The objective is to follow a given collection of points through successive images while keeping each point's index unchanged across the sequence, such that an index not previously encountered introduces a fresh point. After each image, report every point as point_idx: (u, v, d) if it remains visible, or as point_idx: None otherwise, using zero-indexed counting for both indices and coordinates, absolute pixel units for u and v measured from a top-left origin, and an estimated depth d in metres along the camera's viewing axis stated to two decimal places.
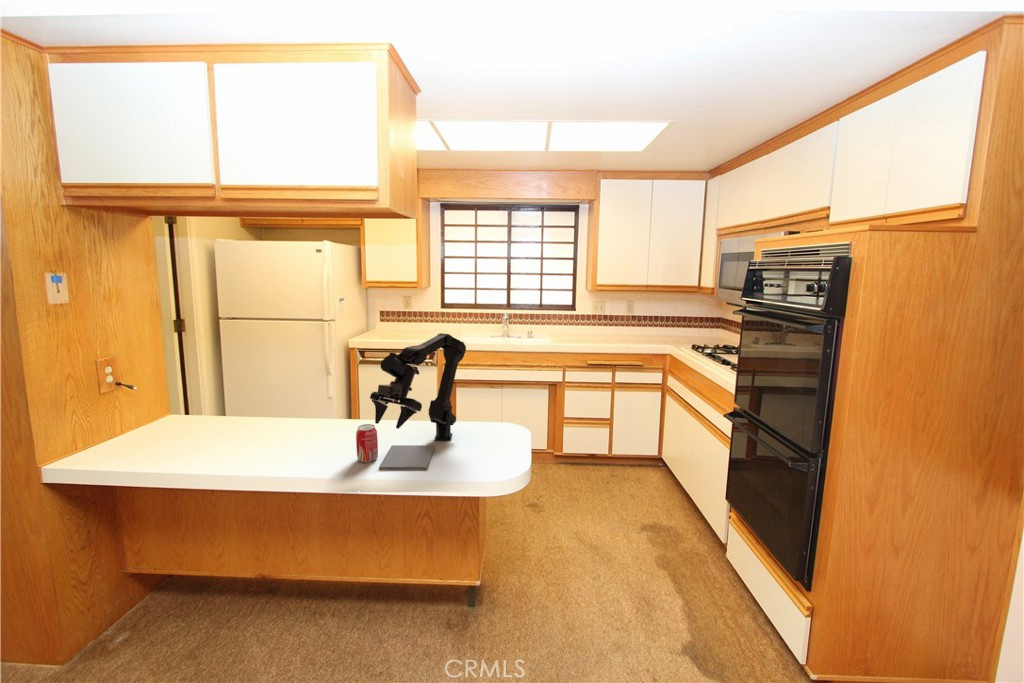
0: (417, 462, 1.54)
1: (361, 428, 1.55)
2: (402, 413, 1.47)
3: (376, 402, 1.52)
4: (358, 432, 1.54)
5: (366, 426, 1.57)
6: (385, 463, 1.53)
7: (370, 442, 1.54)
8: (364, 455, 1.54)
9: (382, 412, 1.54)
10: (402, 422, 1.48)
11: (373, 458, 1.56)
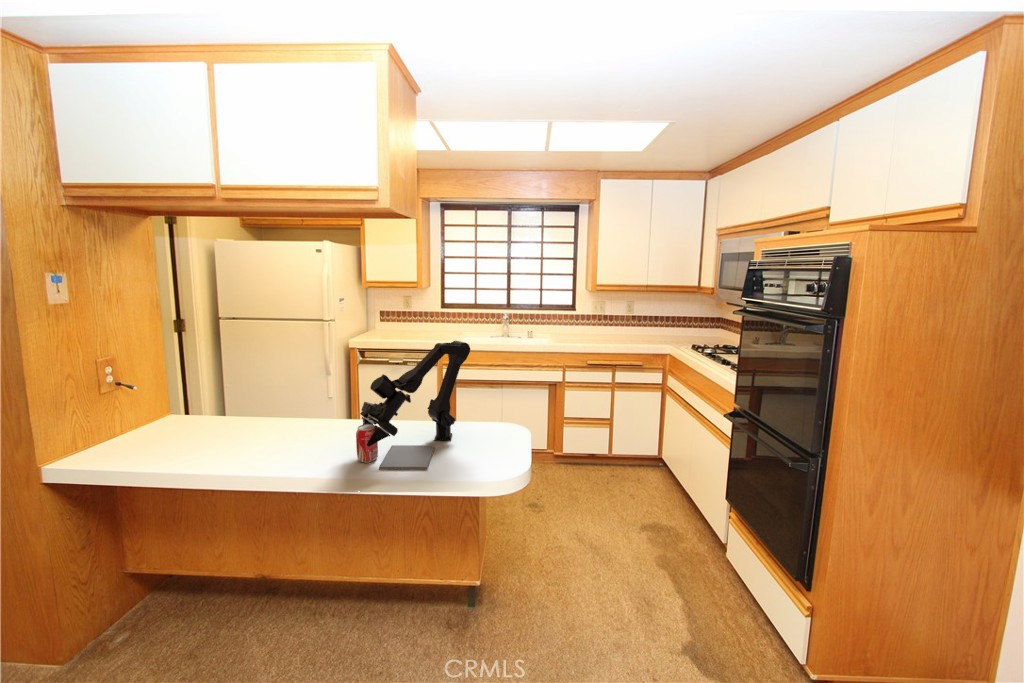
0: (417, 462, 1.54)
1: (361, 428, 1.55)
2: (375, 432, 1.53)
3: (364, 419, 1.60)
4: (358, 432, 1.54)
5: (366, 426, 1.57)
6: (385, 463, 1.53)
7: None
8: (364, 455, 1.54)
9: None
10: (374, 441, 1.54)
11: (373, 458, 1.56)
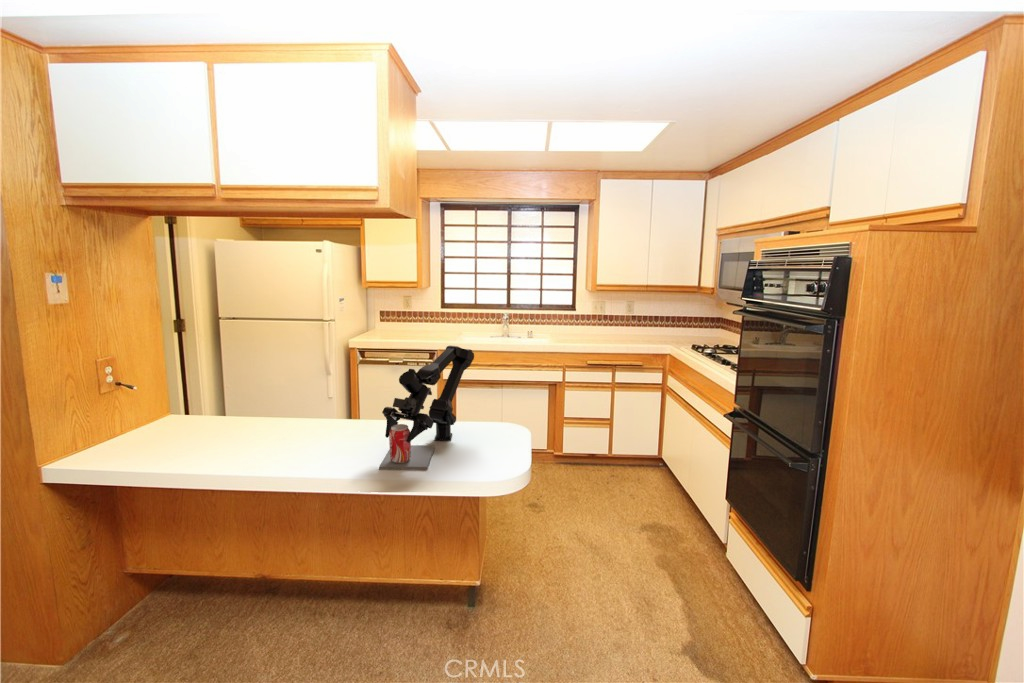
0: (417, 462, 1.54)
1: (395, 429, 1.52)
2: (414, 427, 1.52)
3: (388, 416, 1.56)
4: (394, 433, 1.51)
5: (398, 426, 1.54)
6: (385, 463, 1.53)
7: None
8: (402, 455, 1.52)
9: None
10: (413, 436, 1.52)
11: (409, 457, 1.54)
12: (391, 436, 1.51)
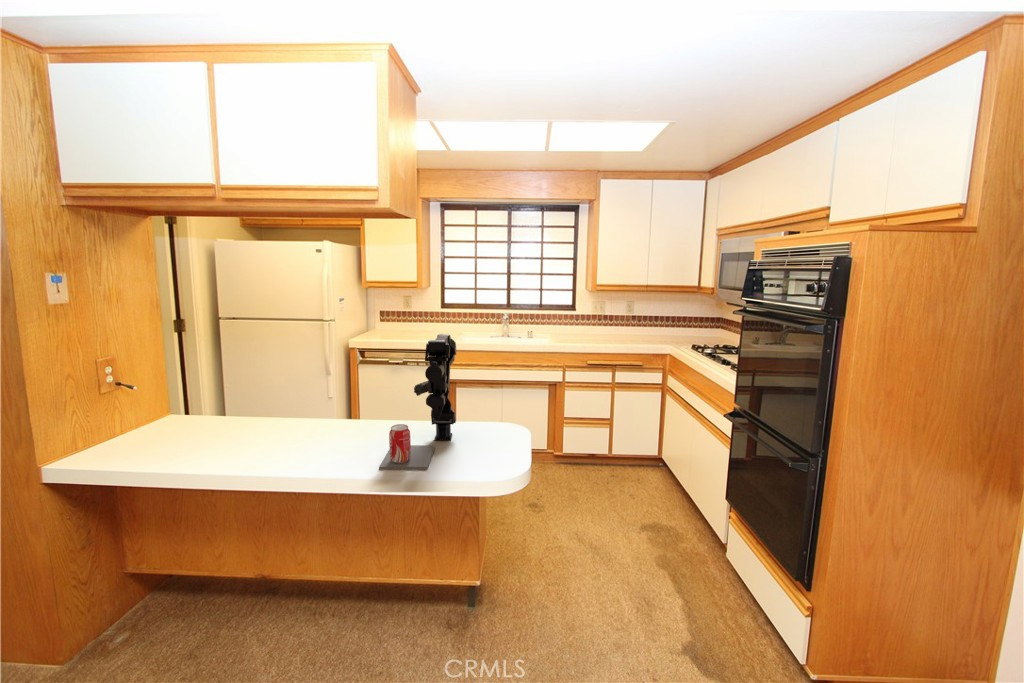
0: (417, 462, 1.54)
1: (395, 429, 1.52)
2: None
3: None
4: (394, 433, 1.51)
5: (397, 426, 1.54)
6: (385, 463, 1.53)
7: (407, 441, 1.52)
8: (402, 455, 1.52)
9: None
10: (437, 415, 1.59)
11: (409, 457, 1.54)
12: (391, 436, 1.51)
